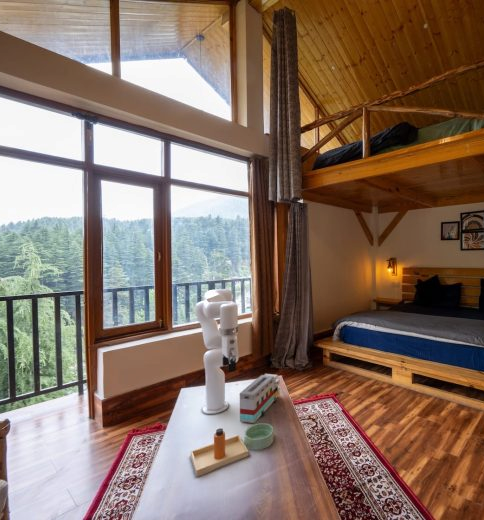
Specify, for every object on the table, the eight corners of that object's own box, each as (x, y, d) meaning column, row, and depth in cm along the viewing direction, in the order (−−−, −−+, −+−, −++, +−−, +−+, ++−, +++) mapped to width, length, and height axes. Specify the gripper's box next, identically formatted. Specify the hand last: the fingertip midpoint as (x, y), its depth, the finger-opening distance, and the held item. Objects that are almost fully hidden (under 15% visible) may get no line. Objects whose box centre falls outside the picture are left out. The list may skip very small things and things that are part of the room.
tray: (190, 457, 121) (190, 451, 121) (238, 440, 132) (238, 434, 132) (196, 477, 110) (196, 470, 110) (248, 456, 121) (248, 450, 121)
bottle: (213, 455, 121) (212, 429, 121) (223, 451, 124) (223, 425, 124) (215, 460, 118) (215, 434, 118) (226, 456, 120) (226, 430, 120)
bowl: (241, 440, 132) (241, 429, 132) (267, 431, 139) (267, 420, 139) (250, 455, 122) (250, 443, 122) (277, 444, 129) (277, 433, 129)
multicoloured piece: (280, 396, 173) (280, 370, 173) (254, 425, 143) (254, 394, 143) (267, 395, 174) (267, 369, 174) (239, 423, 145) (239, 393, 145)
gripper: (243, 333, 131) (243, 372, 131) (232, 326, 145) (232, 361, 145) (225, 336, 127) (225, 376, 127) (215, 328, 141) (216, 364, 141)
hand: (229, 368), depth 136 cm, fingers open, 9 cm apart
